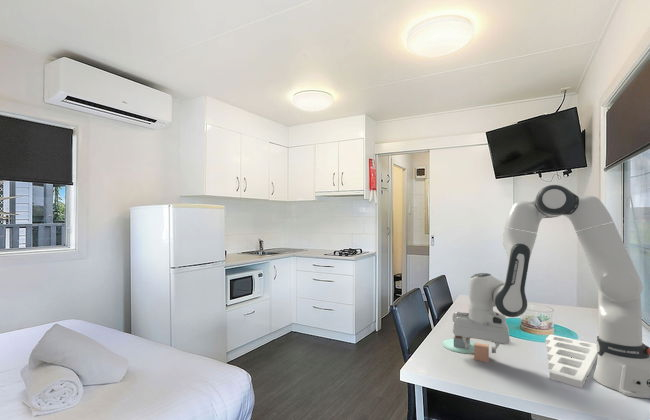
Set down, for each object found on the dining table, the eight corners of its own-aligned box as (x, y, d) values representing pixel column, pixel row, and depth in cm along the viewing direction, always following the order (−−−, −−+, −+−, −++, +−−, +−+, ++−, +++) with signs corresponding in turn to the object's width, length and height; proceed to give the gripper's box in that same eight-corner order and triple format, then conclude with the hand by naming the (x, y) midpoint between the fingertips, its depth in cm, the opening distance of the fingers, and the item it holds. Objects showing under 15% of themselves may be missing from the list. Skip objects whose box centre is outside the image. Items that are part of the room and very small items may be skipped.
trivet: (581, 389, 110) (581, 381, 110) (520, 371, 123) (519, 364, 123) (601, 351, 142) (600, 344, 142) (550, 340, 154) (550, 334, 155)
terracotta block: (488, 357, 134) (488, 344, 134) (488, 362, 130) (488, 349, 130) (474, 355, 136) (474, 342, 136) (474, 359, 132) (474, 346, 132)
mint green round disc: (483, 343, 149) (483, 334, 149) (481, 356, 135) (481, 346, 135) (444, 337, 156) (444, 328, 156) (439, 349, 142) (439, 339, 142)
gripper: (451, 313, 136) (451, 347, 135) (509, 320, 126) (509, 358, 126) (453, 309, 141) (453, 342, 141) (509, 316, 132) (509, 352, 132)
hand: (480, 350), depth 133 cm, fingers open, 8 cm apart
